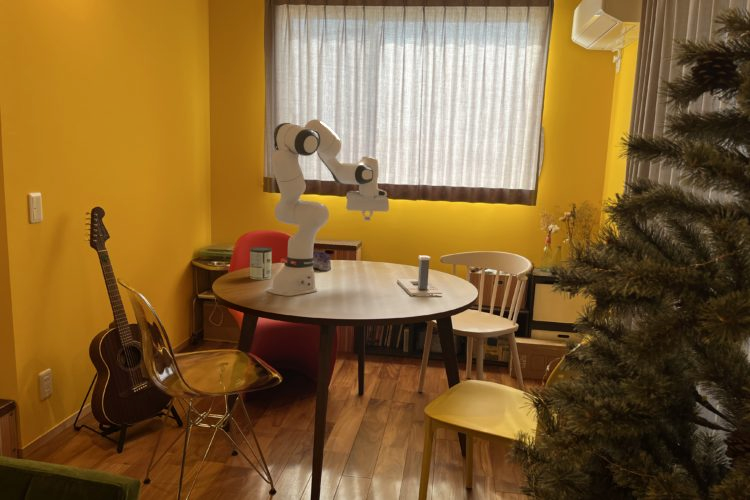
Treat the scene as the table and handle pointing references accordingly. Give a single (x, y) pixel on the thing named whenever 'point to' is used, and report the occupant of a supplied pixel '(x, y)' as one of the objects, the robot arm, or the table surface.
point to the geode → (321, 261)
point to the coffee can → (260, 263)
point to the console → (412, 290)
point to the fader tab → (423, 272)
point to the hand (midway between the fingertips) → (367, 220)
